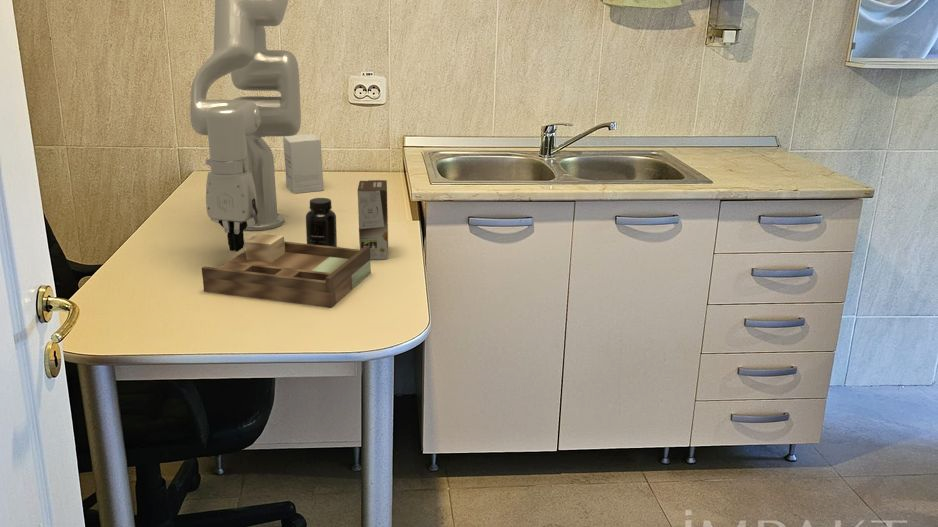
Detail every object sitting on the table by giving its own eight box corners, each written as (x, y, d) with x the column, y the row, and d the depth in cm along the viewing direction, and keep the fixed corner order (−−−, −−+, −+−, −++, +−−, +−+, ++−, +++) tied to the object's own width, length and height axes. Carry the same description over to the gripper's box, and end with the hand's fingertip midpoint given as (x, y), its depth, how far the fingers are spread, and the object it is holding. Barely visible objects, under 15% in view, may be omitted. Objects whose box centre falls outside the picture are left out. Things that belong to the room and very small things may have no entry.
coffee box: (388, 259, 194) (386, 190, 188) (359, 260, 193) (357, 190, 188) (388, 246, 202) (387, 179, 197) (361, 246, 202) (358, 179, 196)
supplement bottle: (312, 257, 195) (309, 205, 191) (303, 248, 200) (300, 198, 196) (341, 252, 198) (339, 202, 194) (331, 244, 203) (329, 194, 199)
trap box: (203, 291, 175) (201, 263, 173) (253, 259, 193) (251, 233, 191) (331, 307, 168) (330, 278, 166) (370, 272, 186) (369, 246, 184)
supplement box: (316, 183, 255) (313, 133, 250) (324, 191, 247) (321, 139, 242) (285, 186, 252) (282, 135, 247) (292, 194, 244) (289, 141, 239)
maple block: (246, 259, 184) (244, 241, 183) (260, 250, 189) (259, 233, 188) (271, 262, 182) (270, 244, 181) (285, 253, 188) (284, 235, 187)
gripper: (187, 167, 180) (196, 251, 186) (252, 173, 176) (259, 258, 182) (208, 159, 187) (215, 240, 193) (270, 165, 183) (276, 247, 189)
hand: (236, 249), depth 187 cm, fingers closed
